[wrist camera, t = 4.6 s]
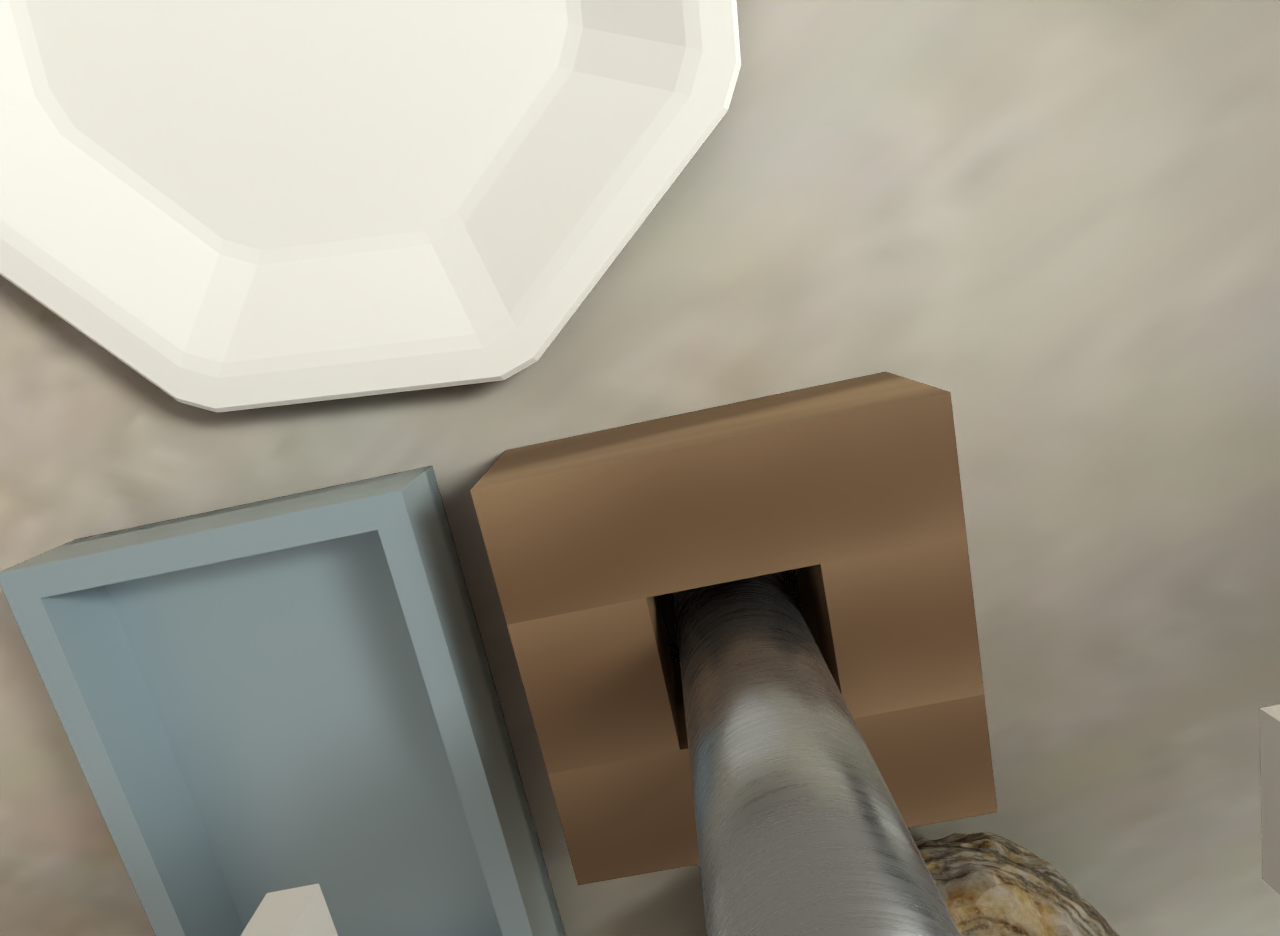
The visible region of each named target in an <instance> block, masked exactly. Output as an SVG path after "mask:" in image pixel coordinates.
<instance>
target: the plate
mask: <svg viewBox="0 0 1280 936" xmlns="http://www.w3.org/2000/svg"><path fill="white" fill-rule="evenodd" d="M740 68H741V57H740V43H739V30H738V16H737V2H736V0H0V275H1V276H3V277H4V278H5V279H7V280H8V281H10V282H11V283H12V284H14V285H15V286H17V287H18V288H19V289H21V290H22V291H24V292H25V293H26V294H28V295H29V296H31V297H32V298H34V299H35V300H36V301H38V302H39V303H41V304H42V305H43V306H45V307H46V308H48V309H49V310H50V311H52V312H53V313H55V314H56V315H57V316H59V317H60V318H62V319H63V320H64V321H66V322H67V323H69V324H70V325H71V326H73V327H74V328H76V329H77V330H78V331H80V332H81V333H83V334H84V335H85V336H87V337H88V338H90V339H91V340H92V341H94V342H95V343H97V344H98V345H100V346H101V347H102V348H104V349H105V350H107V351H108V352H109V353H111V354H112V355H114V356H115V357H116V358H118V359H119V360H121V361H122V362H123V363H125V364H126V365H128V366H129V367H130V368H132V369H133V370H135V371H136V372H137V373H139V374H140V375H142V376H143V377H144V378H146V379H147V380H149V381H150V382H151V383H153V384H154V385H156V386H157V387H158V388H160V389H161V390H163V391H164V392H166V393H167V394H168V395H170V396H171V397H173V398H174V399H175V400H177V401H178V402H180V403H184V404H188V405H191V406H195V407H199V408H202V409H206V410H209V411H213V412H217V413H219V412H227V411H236V410H245V409H254V408H263V407H272V406H281V405H289V404H298V403H307V402H316V401H325V400H334V399H343V398H351V397H360V396H369V395H378V394H387V393H396V392H405V391H413V390H422V389H431V388H440V387H449V386H458V385H467V384H475V383H484V382H493V381H502V380H505V379H507V378H509V377H511V376H512V375H514V374H516V373H518V372H520V371H521V370H523V369H525V368H527V367H528V366H530V365H532V364H534V363H535V362H537V361H538V360H539V359H540V357H541V356H542V355H543V353H544V352H545V351H546V349H547V348H548V347H549V345H550V344H551V343H552V341H553V340H554V339H555V338H556V336H557V335H558V334H559V332H560V331H561V330H562V328H563V327H564V326H565V324H566V323H567V322H568V320H569V319H570V318H571V316H572V315H573V314H574V313H575V311H576V310H577V309H578V307H579V306H580V305H581V303H582V302H583V301H584V299H585V298H586V297H587V295H588V294H589V293H590V291H591V290H592V289H593V287H594V286H595V285H596V284H597V282H598V281H599V280H600V278H601V277H602V276H603V274H604V273H605V272H606V270H607V269H608V268H609V266H610V265H611V264H612V262H613V261H614V260H615V259H616V257H617V256H618V255H619V253H620V252H621V251H622V249H623V248H624V247H625V245H626V244H627V243H628V241H629V240H630V239H631V237H632V236H633V235H634V234H635V232H636V231H637V230H638V228H639V227H640V226H641V224H642V223H643V222H644V220H645V219H646V218H647V216H648V215H649V214H650V212H651V211H652V210H653V209H654V207H655V206H656V205H657V203H658V202H659V201H660V199H661V198H662V197H663V195H664V194H665V193H666V191H667V190H668V189H669V187H670V186H671V185H672V183H673V182H674V181H675V180H676V178H677V177H678V176H679V174H680V173H681V172H682V170H683V169H684V168H685V166H686V165H687V164H688V162H689V161H690V160H691V158H692V157H693V156H694V155H695V153H696V152H697V151H698V149H699V148H700V147H701V145H702V144H703V143H704V141H705V140H706V139H707V137H708V136H709V135H710V133H711V132H712V131H713V130H714V128H715V127H716V126H717V124H718V123H719V122H720V120H721V119H722V118H723V116H724V115H725V114H726V112H727V111H728V109H729V106H730V102H731V99H732V95H733V92H734V88H735V85H736V82H737V78H738V75H739V71H740Z"/></svg>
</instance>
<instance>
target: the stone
mask: <svg viewBox="0 0 1280 936" xmlns="http://www.w3.org/2000/svg"><path fill="white" fill-rule="evenodd" d="M915 844H916V846H917V848H918V850H919V852H920V854H921V856H922V858H923V860H924V862H925V864H926V866H927V868H928V870H929V872H930V874H931V876H932V878H933V880H934V882H935V884H936V886H937V888H938V890H939V892H940V894H941V896H942V898H943V900H944V902H945V904H946V906H947V908H948V910H949V912H950V914H951V916H952V918H953V920H954V922H955V924H956V926H957V928H958V930H959V932H960V934H961V936H1119V935H1118V934H1117V933H1116V932H1115V931H1114V930H1113V929H1112V928H1111V927H1110V926H1109V924H1108V923H1107V922H1106V920H1105V919H1104V918H1103V917H1102V916H1101V915H1100V914H1099V913H1098V912H1097V911H1096V910H1095V909H1094V907H1093V906H1092V905H1090V904H1089V903H1088V902H1086V901H1085V900H1084V899H1082V898H1081V897H1080V896H1079V895H1078V893H1077V892H1076V890H1075V889H1074V888H1073V886H1071V885H1070V884H1069V883H1067V881H1066V880H1065V879H1064V878H1063V877H1062V876H1061V875H1060V874H1059V873H1058V872H1057V871H1056V870H1055V869H1054V868H1053V867H1052V866H1051V865H1050V864H1049V863H1048V862H1046V861H1044V860H1042V859H1040V858H1038V857H1037V856H1035V855H1034V854H1032V853H1031V852H1029V851H1028V850H1026V849H1025V848H1023V847H1021V846H1019V845H1017V844H1015V843H1013V842H1011V841H1009V840H1006V839H1004V838H1002V837H1000V836H998V835H995V834H993V833H975V834H968V835H966V834H953V835H950V836H947V837H945V838H942V839H939V840H926V839H923V838H921V839H920V840H918V841H916V842H915Z"/></svg>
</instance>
